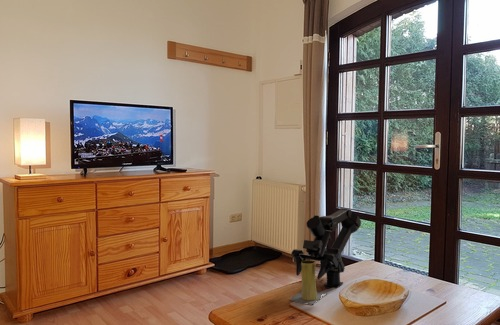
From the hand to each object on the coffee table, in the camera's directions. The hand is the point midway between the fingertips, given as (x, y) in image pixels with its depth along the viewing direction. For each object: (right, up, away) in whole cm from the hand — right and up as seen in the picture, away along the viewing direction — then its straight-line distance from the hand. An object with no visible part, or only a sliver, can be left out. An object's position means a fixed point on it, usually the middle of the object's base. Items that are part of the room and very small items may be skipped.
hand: (307, 277), depth 154 cm
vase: (+1, -9, +1) cm, 9 cm away
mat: (+1, -9, +3) cm, 10 cm away
